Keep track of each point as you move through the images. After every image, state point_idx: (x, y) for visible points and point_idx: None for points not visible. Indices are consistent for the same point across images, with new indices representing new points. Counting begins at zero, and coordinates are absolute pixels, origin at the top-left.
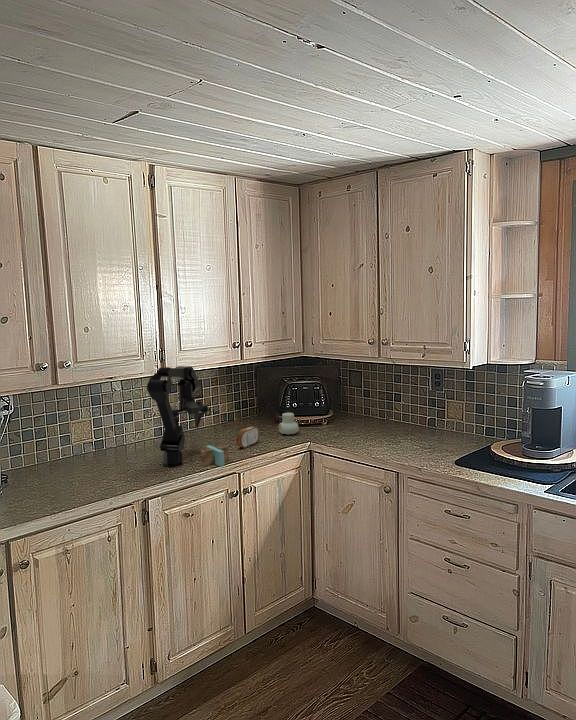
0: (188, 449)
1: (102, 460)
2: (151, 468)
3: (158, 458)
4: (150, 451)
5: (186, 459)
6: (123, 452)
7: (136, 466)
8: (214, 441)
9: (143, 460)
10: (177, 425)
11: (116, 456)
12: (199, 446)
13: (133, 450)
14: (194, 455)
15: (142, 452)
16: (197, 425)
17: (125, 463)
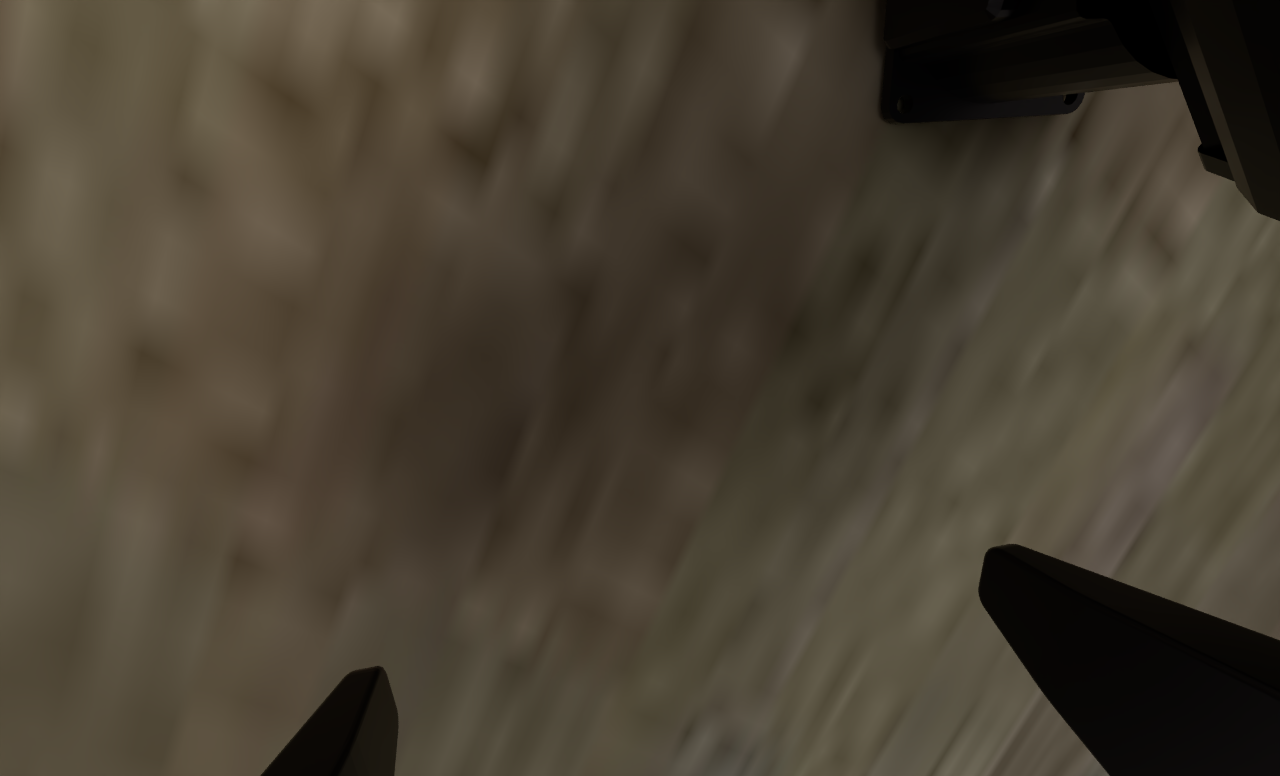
0: (520, 575)
1: (1273, 580)
2: None
3: (957, 395)
4: (881, 665)
5: (731, 136)
6: (1049, 720)
7: (1262, 230)
8: (61, 772)
9: (1093, 407)
10: (1253, 653)
11: None
12: (341, 639)
13: (966, 744)
14: (553, 268)
15: (948, 663)
16: (337, 743)
17: (1244, 400)
